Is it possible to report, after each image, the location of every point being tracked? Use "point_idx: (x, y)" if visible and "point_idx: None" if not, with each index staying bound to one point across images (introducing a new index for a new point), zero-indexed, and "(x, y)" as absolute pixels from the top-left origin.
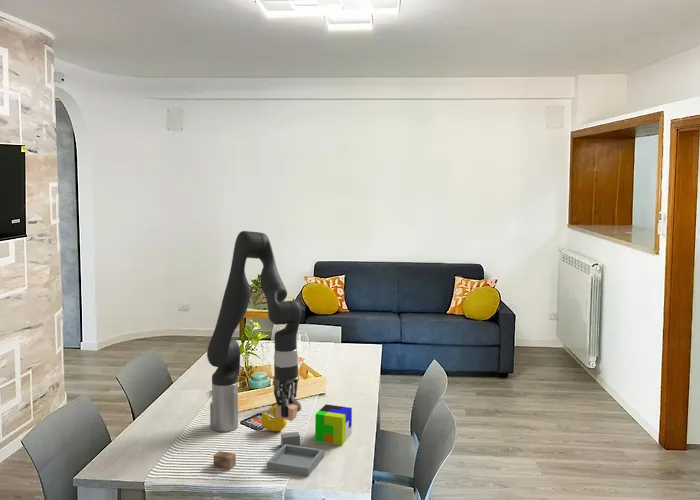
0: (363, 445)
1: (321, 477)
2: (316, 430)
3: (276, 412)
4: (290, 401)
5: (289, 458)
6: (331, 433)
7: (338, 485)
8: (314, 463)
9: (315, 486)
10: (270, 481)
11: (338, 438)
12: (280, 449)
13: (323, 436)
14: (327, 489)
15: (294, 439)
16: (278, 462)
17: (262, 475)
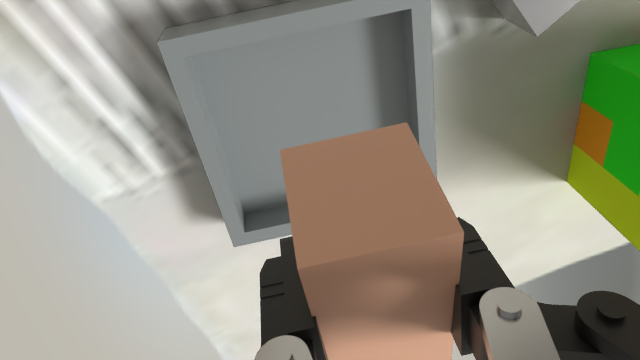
0: (581, 243)
1: (258, 260)
2: (633, 81)
3: (288, 193)
4: (469, 340)
5: (328, 70)
6: (609, 161)
7: (241, 324)
8: None
9: (184, 279)
10: (81, 120)
11: (588, 183)
12: (345, 9)
13: (602, 110)
14: (194, 315)
15: (509, 4)
16: (195, 102)
17: (96, 46)
